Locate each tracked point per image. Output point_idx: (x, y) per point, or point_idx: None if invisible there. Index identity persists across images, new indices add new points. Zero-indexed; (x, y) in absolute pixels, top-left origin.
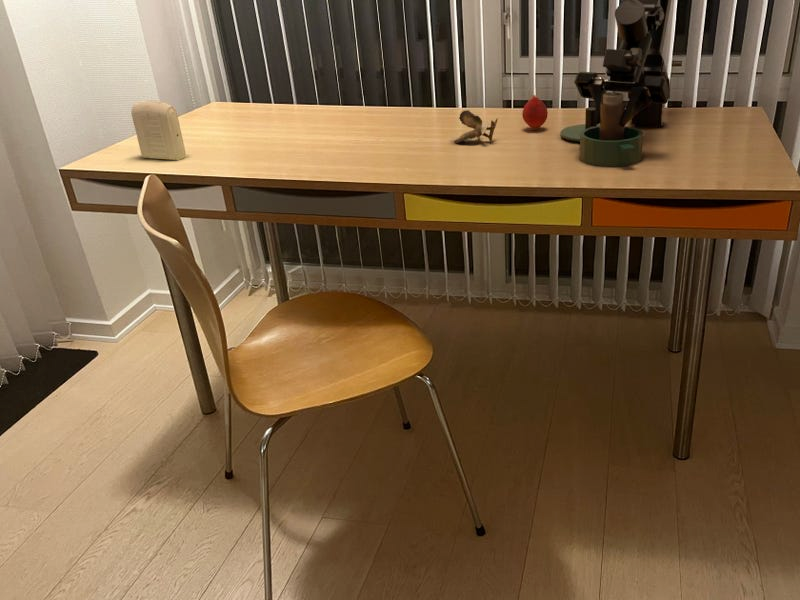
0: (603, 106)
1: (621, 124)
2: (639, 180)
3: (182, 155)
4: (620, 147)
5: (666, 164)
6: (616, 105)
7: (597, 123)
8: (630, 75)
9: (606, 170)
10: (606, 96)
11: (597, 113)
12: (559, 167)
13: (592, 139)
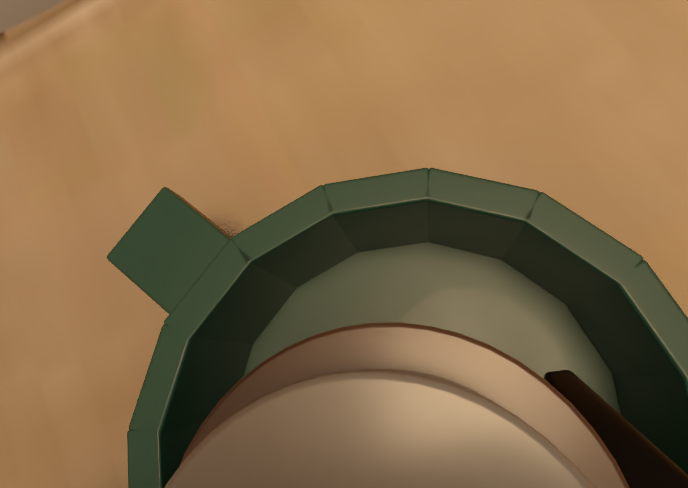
0: (459, 333)
1: None
2: (84, 120)
3: None
4: (214, 225)
5: (46, 457)
6: (236, 405)
7: None
8: None
9: (308, 176)
10: (428, 383)
11: (612, 439)
12: (590, 81)
13: (454, 185)
